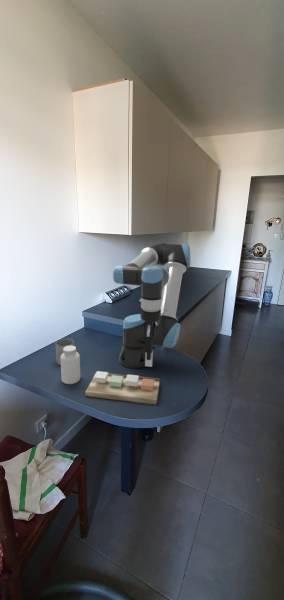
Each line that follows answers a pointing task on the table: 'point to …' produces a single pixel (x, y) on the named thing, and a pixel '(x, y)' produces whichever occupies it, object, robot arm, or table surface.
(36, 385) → the table surface
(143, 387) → the key terracotta
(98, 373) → the white key
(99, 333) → the table surface
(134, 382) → the white key
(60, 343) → the cup
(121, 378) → the key sage
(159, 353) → the table surface
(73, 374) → the pill bottle
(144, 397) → the keypad board
